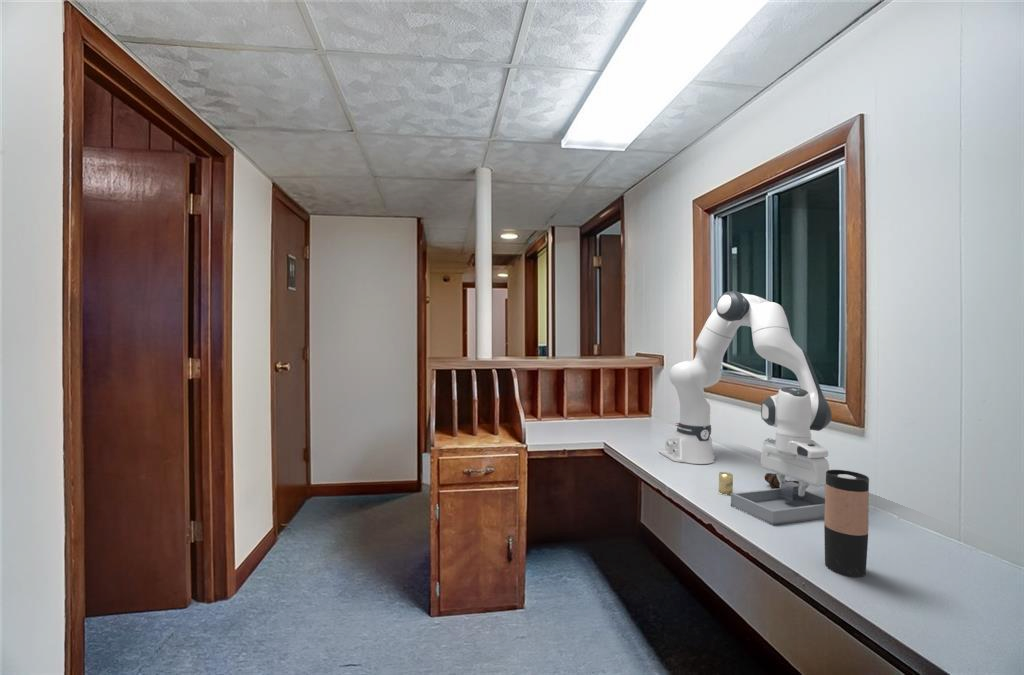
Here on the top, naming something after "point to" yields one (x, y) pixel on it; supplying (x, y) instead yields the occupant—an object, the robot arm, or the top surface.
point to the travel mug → (846, 522)
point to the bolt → (775, 480)
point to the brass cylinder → (725, 483)
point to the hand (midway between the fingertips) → (791, 492)
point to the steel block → (790, 491)
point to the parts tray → (779, 506)
